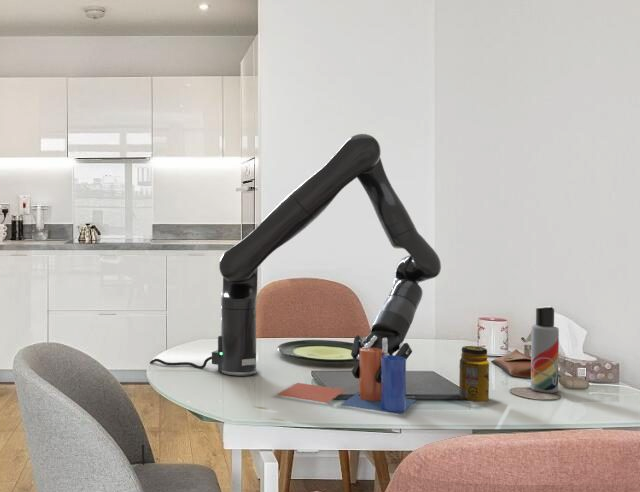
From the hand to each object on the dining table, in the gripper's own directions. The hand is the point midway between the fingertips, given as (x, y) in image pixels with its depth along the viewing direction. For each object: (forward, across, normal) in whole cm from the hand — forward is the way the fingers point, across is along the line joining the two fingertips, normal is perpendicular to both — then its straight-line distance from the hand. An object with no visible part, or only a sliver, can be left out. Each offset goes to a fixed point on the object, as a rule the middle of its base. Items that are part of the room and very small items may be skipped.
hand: (366, 378), depth 161 cm
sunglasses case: (-37, +10, +44) cm, 58 cm away
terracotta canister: (+2, 0, +5) cm, 5 cm away
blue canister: (+5, +8, +2) cm, 9 cm away
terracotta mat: (+7, -12, +1) cm, 14 cm away
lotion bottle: (-25, +23, +33) cm, 47 cm away
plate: (-20, -33, +28) cm, 47 cm away
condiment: (-9, +15, +17) cm, 24 cm away
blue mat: (+4, +3, +4) cm, 6 cm away
